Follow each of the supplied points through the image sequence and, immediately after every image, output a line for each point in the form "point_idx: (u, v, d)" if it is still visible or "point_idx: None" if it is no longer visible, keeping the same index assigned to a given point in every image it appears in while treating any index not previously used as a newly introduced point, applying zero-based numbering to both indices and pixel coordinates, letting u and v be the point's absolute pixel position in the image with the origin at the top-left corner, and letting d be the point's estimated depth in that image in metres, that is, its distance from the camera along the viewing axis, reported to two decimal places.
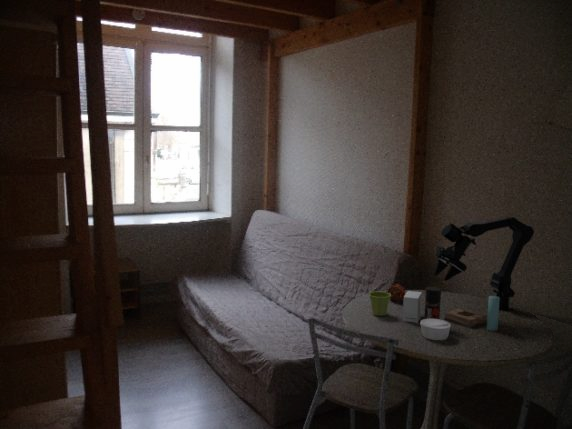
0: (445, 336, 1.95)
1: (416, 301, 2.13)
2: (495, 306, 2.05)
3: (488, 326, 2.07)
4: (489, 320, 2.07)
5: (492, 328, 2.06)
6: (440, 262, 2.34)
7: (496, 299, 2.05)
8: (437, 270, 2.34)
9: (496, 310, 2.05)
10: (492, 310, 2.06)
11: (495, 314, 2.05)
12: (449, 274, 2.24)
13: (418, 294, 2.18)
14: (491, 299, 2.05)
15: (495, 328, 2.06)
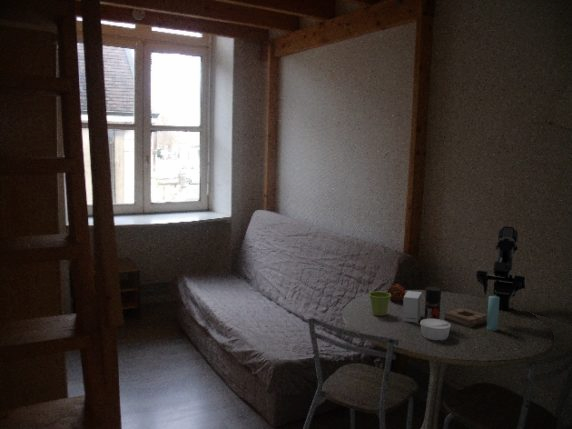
0: (445, 336, 1.95)
1: (416, 301, 2.13)
2: (495, 306, 2.05)
3: (488, 326, 2.07)
4: (489, 320, 2.07)
5: (492, 328, 2.06)
6: (486, 280, 2.16)
7: (496, 299, 2.05)
8: (486, 289, 2.15)
9: (496, 310, 2.05)
10: (492, 310, 2.06)
11: (495, 314, 2.05)
12: (513, 291, 2.10)
13: (418, 294, 2.18)
14: (491, 299, 2.05)
15: (495, 328, 2.06)
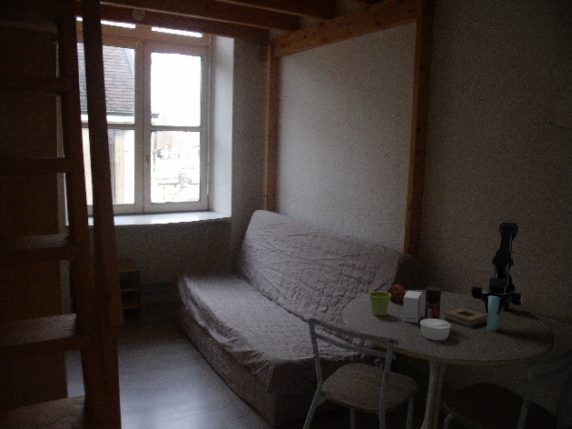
0: (445, 336, 1.95)
1: (416, 301, 2.13)
2: (495, 306, 2.05)
3: (488, 326, 2.07)
4: (489, 320, 2.07)
5: (492, 328, 2.06)
6: (488, 298, 2.10)
7: (496, 299, 2.05)
8: (487, 307, 2.08)
9: (496, 310, 2.05)
10: (492, 310, 2.06)
11: (495, 314, 2.05)
12: (502, 308, 2.06)
13: (418, 294, 2.18)
14: (491, 299, 2.05)
15: (495, 328, 2.06)
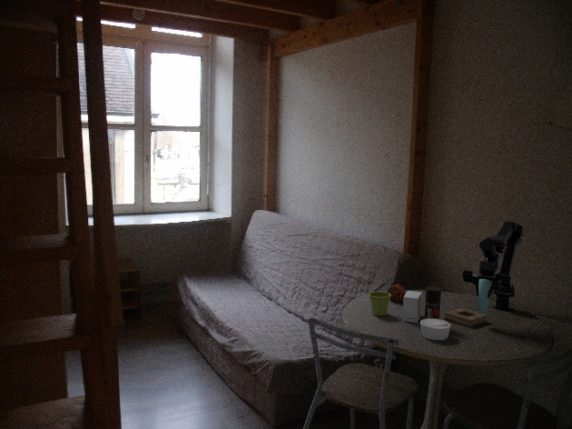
0: (445, 336, 1.95)
1: (416, 301, 2.13)
2: (485, 288, 2.08)
3: (479, 309, 2.10)
4: (479, 303, 2.10)
5: (482, 310, 2.09)
6: (478, 281, 2.13)
7: (486, 282, 2.08)
8: (478, 290, 2.11)
9: (486, 293, 2.08)
10: (482, 293, 2.09)
11: (485, 297, 2.08)
12: (492, 290, 2.09)
13: (418, 294, 2.18)
14: (481, 282, 2.08)
15: (485, 310, 2.09)
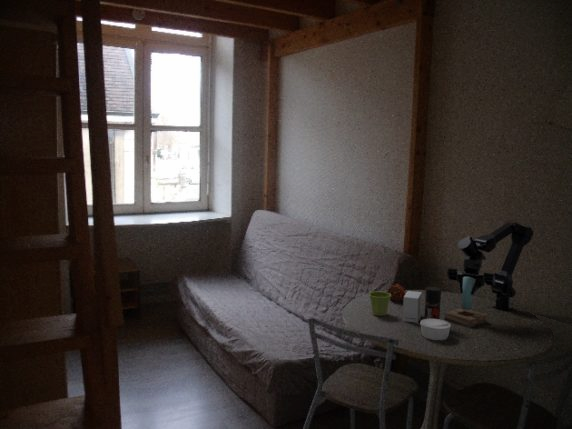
0: (445, 336, 1.95)
1: (416, 301, 2.13)
2: (469, 286, 2.14)
3: (462, 305, 2.16)
4: (463, 300, 2.15)
5: (466, 307, 2.15)
6: (462, 279, 2.19)
7: (470, 279, 2.14)
8: (462, 287, 2.17)
9: (470, 290, 2.14)
10: (466, 290, 2.14)
11: (469, 294, 2.14)
12: (476, 288, 2.15)
13: (418, 294, 2.18)
14: (465, 279, 2.14)
15: (469, 307, 2.15)
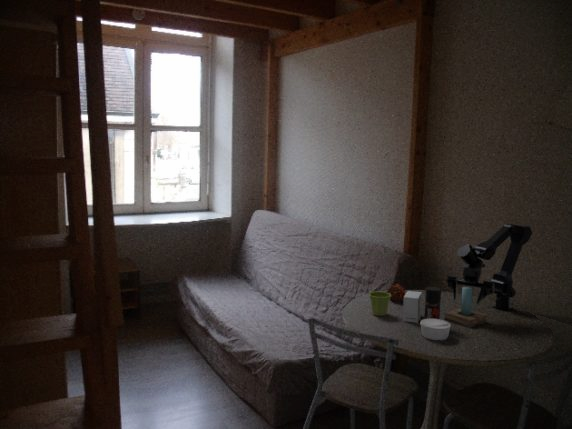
0: (445, 336, 1.95)
1: (416, 301, 2.13)
2: (468, 296, 2.14)
3: None
4: (463, 310, 2.16)
5: None
6: (456, 286, 2.20)
7: (469, 290, 2.14)
8: (455, 294, 2.19)
9: (469, 300, 2.14)
10: (465, 301, 2.15)
11: (468, 304, 2.15)
12: (481, 297, 2.14)
13: (418, 294, 2.18)
14: (464, 290, 2.14)
15: None
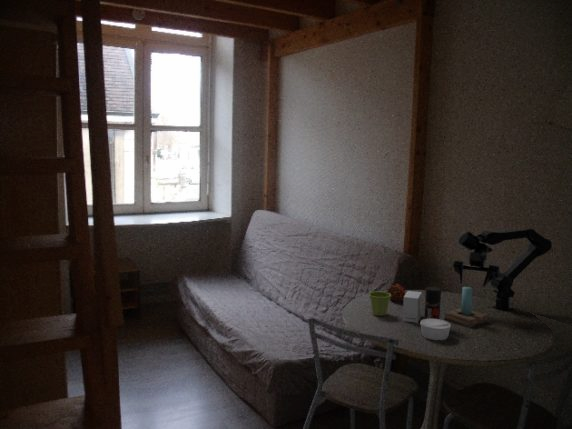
0: (445, 336, 1.95)
1: (416, 301, 2.13)
2: (468, 296, 2.14)
3: None
4: (463, 310, 2.16)
5: None
6: (462, 270, 2.27)
7: (469, 290, 2.14)
8: (462, 278, 2.26)
9: (469, 300, 2.15)
10: (465, 300, 2.15)
11: (468, 304, 2.15)
12: (487, 280, 2.21)
13: (418, 294, 2.18)
14: (464, 290, 2.15)
15: None
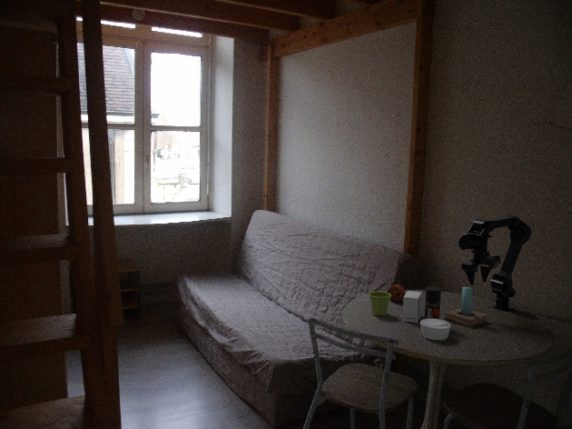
0: (445, 336, 1.95)
1: (416, 301, 2.13)
2: (468, 296, 2.14)
3: None
4: (463, 310, 2.16)
5: None
6: None
7: (469, 290, 2.14)
8: None
9: (469, 300, 2.15)
10: (465, 300, 2.15)
11: (468, 304, 2.15)
12: None
13: (418, 294, 2.18)
14: (464, 290, 2.15)
15: None
